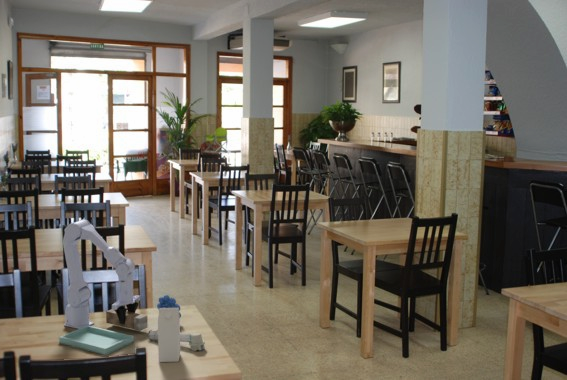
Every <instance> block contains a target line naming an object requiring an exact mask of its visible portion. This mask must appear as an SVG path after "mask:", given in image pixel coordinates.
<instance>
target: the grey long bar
mask: <svg viewBox="0 0 567 380" xmlns="http://www.w3.org/2000/svg"><path fill="white" fill-rule="evenodd" d="M147 338H148V339H149V341H156V342H158V329H151V330H148V333H147ZM180 343H188V345H189V346H190V351H191V350H192V352H197V351H203V350H205V344H206V340H204V339H203V336H202V334H201V333H200V332H196V333H195V332H194V333H186V332H185V333H184V332H180Z"/></svg>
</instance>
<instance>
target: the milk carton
mask: <svg viewBox="0 0 567 380" xmlns="http://www.w3.org/2000/svg"><path fill="white" fill-rule="evenodd" d="M179 312H180V311H179V308H159V309H158V320H157V330H158V341H157V342H158V344H157V345H158V347H157V348H158V362H159V363H167V362H168V363H170V362H171V363H174V362H175V363H176V362H179V360H180V356H181V342H180V333H181V327H180V326H181V325H180V324H181V323H180V322H181V321H180V319H181V317H180V315H179Z"/></svg>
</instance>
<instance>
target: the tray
mask: <svg viewBox="0 0 567 380" xmlns="http://www.w3.org/2000/svg"><path fill="white" fill-rule="evenodd" d="M58 341H59V342H58V343H59V344H60V345H65V346H69V347H73V348H76V349H79V350H85V351H89V352H92V353H95V354H99V355H103V356H107V355H109V354H111V353H113V352H116V351H119V350H120V349H122V348H125V347H126V346H128V345H131V344H133V343H134V341H135V340H134V335H129V334H127V333H122V332H118V331H113V330H110V329H104V328H100V327H97V326H93V325H90V326H89V325H88V326H85V327H83V328H80V329H76V330H73V331H71V332H68V333H66V334H63V335H60V336H59V337H58Z"/></svg>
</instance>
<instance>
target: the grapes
mask: <svg viewBox="0 0 567 380" xmlns="http://www.w3.org/2000/svg"><path fill="white" fill-rule="evenodd" d="M156 307H157V309H158V310H159V308H179V315H180V318H181V317H182V314H181V312H180V311H181V306H180V305H179V304H178V303H177V300H176V298H174V297H170V296H169V295H168V294H164V295H163V297H162V296H160V297H159V298H158V304H157V305H156Z"/></svg>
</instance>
